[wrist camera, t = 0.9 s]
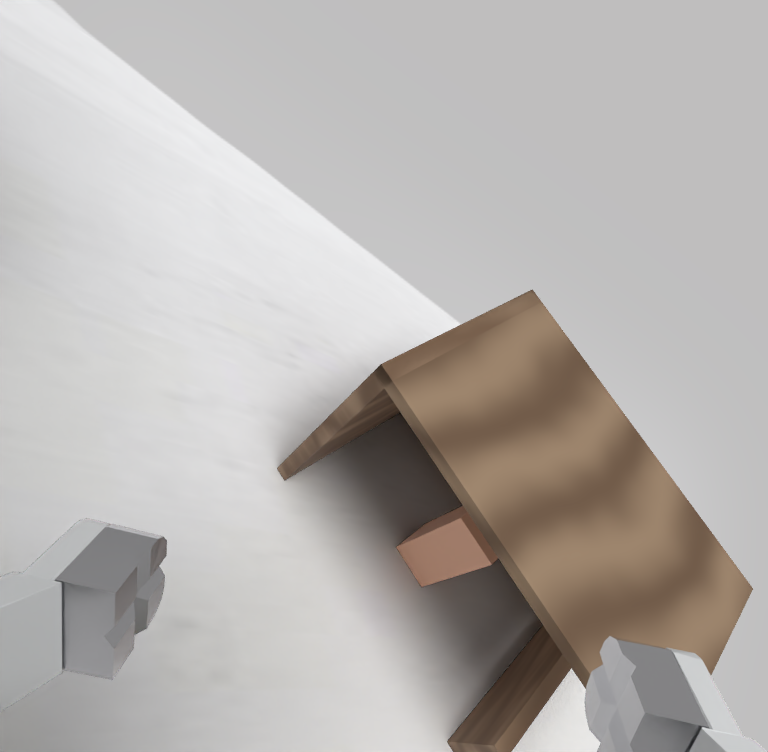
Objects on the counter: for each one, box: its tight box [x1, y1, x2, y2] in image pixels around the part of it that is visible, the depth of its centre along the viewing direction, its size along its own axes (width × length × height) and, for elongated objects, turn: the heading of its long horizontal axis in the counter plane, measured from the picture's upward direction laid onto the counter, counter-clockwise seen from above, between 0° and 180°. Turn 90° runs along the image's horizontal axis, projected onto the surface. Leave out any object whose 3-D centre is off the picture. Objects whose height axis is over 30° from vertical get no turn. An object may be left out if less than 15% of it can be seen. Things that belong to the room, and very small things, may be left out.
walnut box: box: [277, 290, 753, 752], centre depth 44 cm, size 26×17×19 cm, turn 38°
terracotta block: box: [396, 506, 498, 587], centre depth 47 cm, size 4×4×10 cm
